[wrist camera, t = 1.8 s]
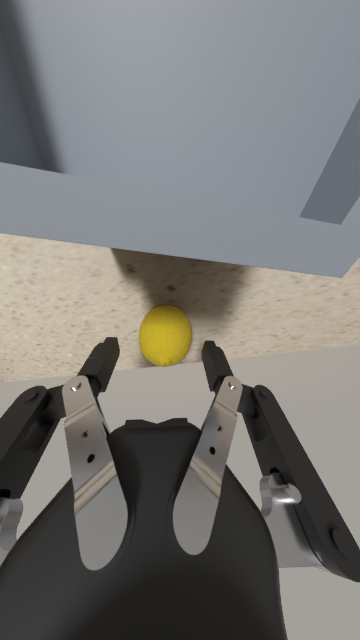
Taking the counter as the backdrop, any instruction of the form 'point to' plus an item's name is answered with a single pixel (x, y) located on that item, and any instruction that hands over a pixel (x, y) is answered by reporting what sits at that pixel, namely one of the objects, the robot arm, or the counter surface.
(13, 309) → the counter surface
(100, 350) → the robot arm
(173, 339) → the lemon
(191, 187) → the slate cup block
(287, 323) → the counter surface
